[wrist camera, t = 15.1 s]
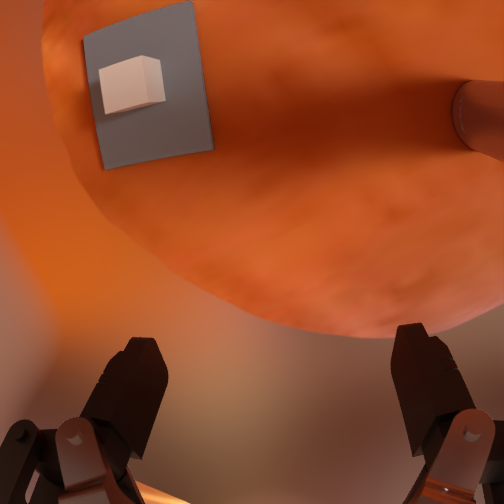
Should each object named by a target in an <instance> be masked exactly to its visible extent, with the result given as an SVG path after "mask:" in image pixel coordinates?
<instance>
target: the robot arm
mask: <svg viewBox="0 0 504 504" xmlns="http://www.w3.org/2000/svg"><path fill="white" fill-rule="evenodd" d="M452 116H453V123H454V126H455V129H456V131H457V133H458V136H459V137H460V138H461V140H462V141H463V142H464V143H465V144H466V145H467V146H468V147H469V148H471V149H473V150H475V151H478V152H480V153H483V154H485V155H488V156H490V157H492V158H495V159H497V160H500V161H502V162H504V81H485V80H475V81H469V82H467V83H465V84H463V85H462V86H461V87H460V88H459V90H458V91H457V93H456V95H455V97H454V101H453V105H452ZM457 368H458V367H457V365H456V363H455V361H454V360H453V357H452V355H451V353H450V351H449V349H448V347H447V345H446V344H445V343H443V342H442V341H441V340H440V339H439V338H438V337H437V336H433V337H429V336H428V334H427V332H426V330H425V328H424V326H423V324H422V323H413V324H406V325H399V326H398V328H397V332H396V337H395V342H394V347H393V352H392V357H391V374H392V378H393V382H394V385H395V389H396V392H397V396H398V400H399V403H400V407H401V410H402V414H403V418H404V422H405V426H406V430H407V434H408V439H409V443H410V447H411V451H412V456H413V457H415V456H420V455H424V459H425V464H424V466H423V468H422V470H421V472H420V473H419V475H418V477H417V479H416V481H415V483H414V485H413V486H412V488H411V490H410V491H409V493H408V495H407V496H406V498H405V500H404V501H403V503H402V504H476V501H475V500H474V494H475V491H476V489H477V486H478V484H480V483H482V487H483V493H484V498H485V504H504V421H497V420H492V418H491V417H490V416H489V415H488V414H487V413H486V412H484V411H482V410H479V409H477V408H476V407H475V405H474V403H473V400H472V398H471V396H470V394H469V391H468V389H467V387H466V384H465V382H464V380H463V378H462V376H461V374H460V372H459V370H458V369H457ZM167 384H168V370H167V367H166V364H165V362H164V360H163V357H162V355H161V353H160V350H159V348H158V345H157V343H156V341H155V339H154V338H142V337H132V338H131V339H130V340H129V342H128V344H127V346H126V348H125V349H124V351H119V352H118V353H117V354H116V355H115V356H114V357H113V358H112V359H111V360H110V361H109V362H108V364H107V366H106V368H105V370H104V373H103V374H102V375H101V377H100V379H99V383H97V384H96V386H95V388H94V390H93V392H92V394H91V396H90V397H89V399H88V401H87V403H86V405H85V407H84V409H83V411H82V413H81V415H80V416H79V417H73V418H70V419H68V420H66V421H64V423H62V424H61V425H60V426H59V428H58V429H46V430H39V428H37V426H36V425H35V424H34V423H33V422H32V421H30V420H20V421H18V422H16V423H15V424H13V425H12V426H11V428H10V429H9V431H8V433H7V435H6V437H5V439H4V441H3V443H2V445H1V447H0V504H27V503H26V500H25V493H26V490H27V488H28V485H29V483H30V480H31V478H32V475H33V473H34V470H35V471H36V472H38V473H39V474H40V475H39V478H38V481H37V483H36V486H35V488H34V491H33V494H32V496H31V499H30V502H29V503H28V504H145V502H144V500H143V498H142V496H141V493H140V491H139V489H138V487H137V484H136V482H135V480H134V478H133V475H132V473H131V471H130V468H129V466H128V465H127V463H128V461H129V458H135V459H140V460H141V459H142V457H143V454H144V451H145V448H146V445H147V442H148V439H149V436H150V433H151V430H152V427H153V424H154V422H155V419H156V416H157V413H158V410H159V407H160V404H161V401H162V399H163V396H164V393H165V390H166V387H167Z"/></svg>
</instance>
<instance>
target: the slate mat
mask: <svg viewBox="0 0 504 504" xmlns="http://www.w3.org/2000/svg"><path fill="white" fill-rule="evenodd" d="M83 40H84V50H85V60H86V68H87V76H88V83H89V90H90V97H91V103H92V109H93V115H94V121H95V126H96V131H97V136H98V141H99V146H100V151H101V156H102V160H103V165H104V169H105V170H108V169H113V168H117V167H122V166H126V165H131V164H136V163H141V162H146V161H151V160H156V159H162V158H167V157H173V156H178V155H184V154H190V153H197V152H203V151H210V150H214V149H215V148H214V142H213V136H212V129H211V123H210V116H209V110H208V103H207V97H206V90H205V83H204V76H203V69H202V62H201V55H200V48H199V41H198V34H197V27H196V20H195V12H194V5H193V2H192V1H191V0H190V1H186V2H182V3H178V4H174V5H170V6H167V7H163V8H160V9H156V10H153V11H150V12H147V13H143V14H140V15H137V16H134V17H131V18H129V19H126V20H123V21H120V22H118V23H115V24H112V25H110V26H107V27H105V28H102V29H100V30H97V31H95V32H93V33H90V34H88V35H86V36H84V37H83ZM141 55H143V56H147V57H151V58H154V59H158V60H160V64H161V72H162V79H163V85H164V92H165V99H166V101H165V102H160V103H156V104H152V105H148V106H144V107H140V108H136V109H132V110H129V111H123V112H117V113H111V114H105V110H104V104H103V97H102V91H101V84H100V77H99V69H102V68H105V67H107V66H110V65H113V64H116V63H119V62H122V61H125V60H128V59H131V58H134V57H138V56H141Z"/></svg>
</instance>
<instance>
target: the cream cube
mask: <svg viewBox="0 0 504 504" xmlns="http://www.w3.org/2000/svg"><path fill="white" fill-rule="evenodd" d="M99 77H100V84H101V91H102V97H103V104H104V110H105V114H111V113H117V112H123V111H129V110H132V109H136V108H140V107H144V106H148V105H152V104H156V103H160V102H165V101H166V99H165V92H164V85H163V79H162V72H161V64H160V60H158V59H154V58H151V57H147V56H143V55H141V56H138V57H134V58H131V59H128V60H125V61H122V62H119V63H116V64H113V65H110V66H107V67H105V68H102V69H99Z"/></svg>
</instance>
